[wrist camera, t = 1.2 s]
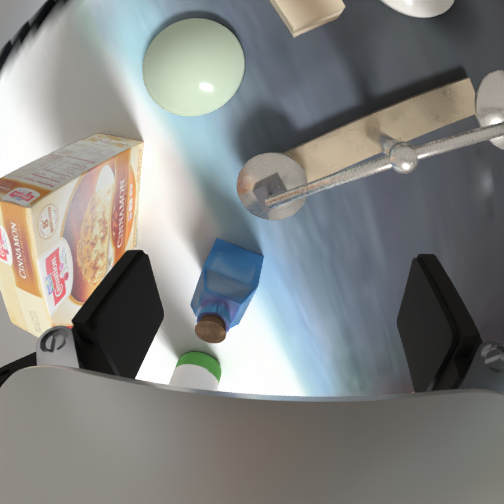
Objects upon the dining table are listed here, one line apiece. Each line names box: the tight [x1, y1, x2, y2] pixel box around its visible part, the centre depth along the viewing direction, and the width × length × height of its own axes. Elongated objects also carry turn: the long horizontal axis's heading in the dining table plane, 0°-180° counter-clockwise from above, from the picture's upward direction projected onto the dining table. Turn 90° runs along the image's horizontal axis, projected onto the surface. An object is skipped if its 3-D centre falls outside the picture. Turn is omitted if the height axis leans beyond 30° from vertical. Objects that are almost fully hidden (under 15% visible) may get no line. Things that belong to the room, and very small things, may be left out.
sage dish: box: [143, 18, 245, 116], centre depth 28 cm, size 11×11×1 cm
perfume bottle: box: [190, 238, 264, 343], centre depth 35 cm, size 6×6×12 cm
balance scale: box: [237, 70, 504, 220], centre depth 23 cm, size 30×7×15 cm, turn 120°
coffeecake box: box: [0, 133, 144, 338], centre depth 29 cm, size 15×7×20 cm, turn 166°
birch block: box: [269, 0, 345, 37], centre depth 21 cm, size 5×5×6 cm
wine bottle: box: [169, 352, 221, 391], centre depth 39 cm, size 8×8×30 cm
